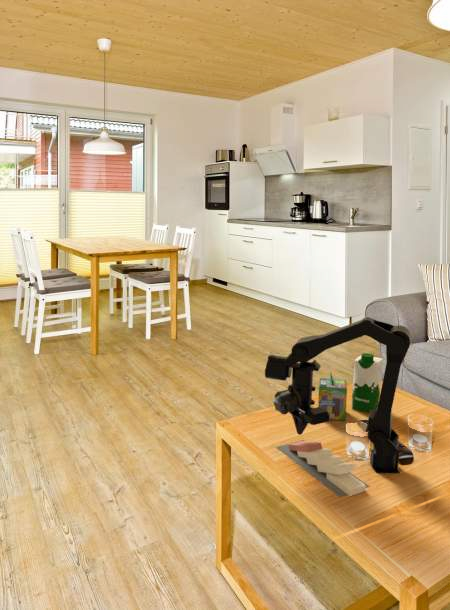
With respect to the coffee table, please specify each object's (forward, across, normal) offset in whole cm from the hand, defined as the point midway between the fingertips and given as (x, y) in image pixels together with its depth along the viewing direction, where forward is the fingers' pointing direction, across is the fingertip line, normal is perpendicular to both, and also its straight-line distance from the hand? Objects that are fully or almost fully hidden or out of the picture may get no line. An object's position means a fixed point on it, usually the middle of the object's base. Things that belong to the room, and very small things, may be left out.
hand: (299, 433), depth 145 cm
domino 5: (+4, +15, 0) cm, 16 cm away
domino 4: (+4, +12, 0) cm, 12 cm away
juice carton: (+6, -16, +25) cm, 30 cm away
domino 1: (+4, -2, 0) cm, 5 cm away
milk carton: (+6, -14, +39) cm, 42 cm away
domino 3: (+4, +7, 0) cm, 8 cm away
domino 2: (+4, +3, 0) cm, 5 cm away
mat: (+6, +9, 0) cm, 11 cm away
